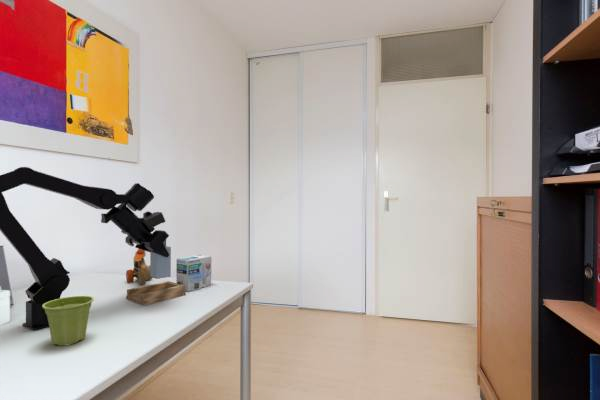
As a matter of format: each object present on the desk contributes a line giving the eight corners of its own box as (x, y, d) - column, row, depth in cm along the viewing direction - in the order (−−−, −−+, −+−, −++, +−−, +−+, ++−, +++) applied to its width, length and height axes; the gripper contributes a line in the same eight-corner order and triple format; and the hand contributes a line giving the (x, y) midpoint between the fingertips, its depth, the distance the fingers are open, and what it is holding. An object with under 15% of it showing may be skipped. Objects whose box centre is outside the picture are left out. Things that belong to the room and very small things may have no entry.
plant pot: (44, 337, 76) (44, 299, 76) (93, 329, 81) (93, 293, 81) (40, 353, 68) (40, 311, 68) (94, 342, 73) (94, 303, 73)
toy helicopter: (147, 277, 134) (147, 243, 134) (163, 288, 118) (163, 249, 118) (125, 281, 129) (125, 245, 129) (138, 292, 113) (137, 252, 113)
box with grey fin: (156, 279, 103) (156, 238, 104) (150, 276, 106) (150, 237, 107) (170, 276, 107) (170, 237, 107) (164, 274, 110) (164, 236, 110)
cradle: (143, 305, 99) (143, 295, 99) (126, 298, 106) (126, 289, 106) (185, 294, 110) (185, 285, 110) (167, 289, 117) (167, 280, 117)
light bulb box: (188, 292, 113) (188, 260, 113) (175, 289, 117) (175, 258, 117) (212, 285, 122) (212, 255, 122) (199, 282, 126) (199, 254, 126)
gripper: (162, 203, 98) (196, 238, 106) (135, 203, 110) (168, 234, 118) (134, 232, 92) (172, 267, 100) (109, 228, 104) (145, 259, 112)
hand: (164, 255), depth 108 cm, fingers closed on box with grey fin, 4 cm apart
